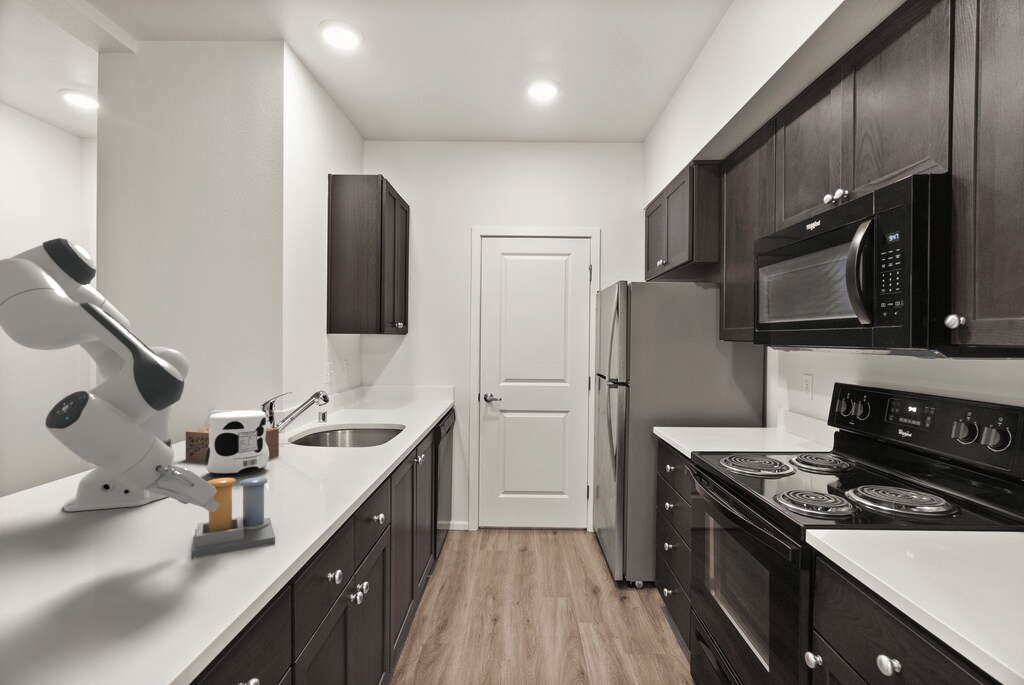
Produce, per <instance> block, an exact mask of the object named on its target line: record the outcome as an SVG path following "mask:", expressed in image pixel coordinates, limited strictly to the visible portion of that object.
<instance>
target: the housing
mask: <svg viewBox="0 0 1024 685" xmlns="http://www.w3.org/2000/svg"><path fill="white" fill-rule="evenodd" d="M266 483H267V484H268V478H267V477H261V476H260V477H251V478H244V479H241V480H240V481H239V486H241V487H242V516H241V517H240V516H239V517H232V529H230V530H224V531H217V532H211V533H209V521H206V522H200V523H197V527H196V528H195V531H194V536H193V537H194V538H193V545H192V551H191V552H192V554H191V558H192V559H193V558H200V557H205V556H210V555H217V554H222V553H226V552H228V553H229V552H233V551H238V550H245V549H250V548H257V547H262V546H267V545H275V544H276V535H275V533H274V532H275V531H274V528H273V524H272V521H271V517H265V484H266Z"/></svg>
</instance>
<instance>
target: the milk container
mask: <svg viewBox="0 0 1024 685" xmlns="http://www.w3.org/2000/svg"><path fill="white" fill-rule="evenodd" d="M209 416H210V417H209V421H208V427H209V446H208V450H207V453H206V457H205V468H206V470H207V472H208V473H209V474H212V475H215V476H221V477H222V476H223V477H224V476H225V477H228V476H229V477H231V476H232V477H233V476H242V475H248V474H252V473H256V472H258V471H261V470H264V469H265V468H266V467H267V465H268V463H269V460H270V459H269V449H268V446H267V442H266V428H267V424H266V422H267V418H266V417H267V416H266V412H265V411H260V410H239V411H238V410H237V411H226V412H218V413H213V414H211V415H209Z"/></svg>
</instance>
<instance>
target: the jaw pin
mask: <svg viewBox="0 0 1024 685" xmlns="http://www.w3.org/2000/svg"><path fill="white" fill-rule="evenodd" d="M206 481H207V482H208V483H210V484H211V485H212V486H214V487H215V488H216V490H217V492H216V494H215V495H214V496H213V499H214V500H215V501H216V502H218V503H219V507H218V508H217V510H216V511H215V512H210V511H208V522H209V533H211V532H217V531H224V530H230V529H232V518H233V485H234V484H236V478H234V477H221V478H220V477H218V478H213V479H211V480H206Z"/></svg>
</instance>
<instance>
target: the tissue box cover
mask: <svg viewBox="0 0 1024 685" xmlns="http://www.w3.org/2000/svg"><path fill="white" fill-rule="evenodd" d="M266 442H267V446H268V449H269V460H270V459H272V458H277V457H280V446H279V445H280V428H279V427H278V428H275V427H266ZM208 446H209V426H208V427H204V428H202V427H201V428H198V429H192V430H186V431H185V461H192V460H193V462H205V457H206V453H207V450H208Z"/></svg>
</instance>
